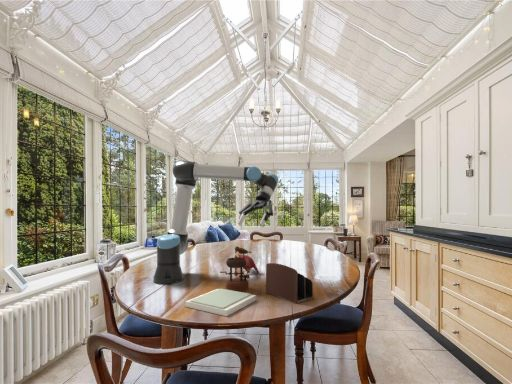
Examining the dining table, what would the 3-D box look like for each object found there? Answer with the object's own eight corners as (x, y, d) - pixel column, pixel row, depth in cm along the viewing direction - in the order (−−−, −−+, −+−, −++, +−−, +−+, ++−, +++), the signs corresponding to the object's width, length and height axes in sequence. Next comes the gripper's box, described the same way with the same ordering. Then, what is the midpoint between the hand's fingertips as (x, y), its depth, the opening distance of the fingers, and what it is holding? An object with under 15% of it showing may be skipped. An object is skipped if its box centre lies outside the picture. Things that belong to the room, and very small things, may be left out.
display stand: (185, 306, 116) (185, 300, 116) (217, 293, 133) (217, 287, 133) (226, 316, 105) (226, 309, 105) (255, 300, 122) (255, 294, 122)
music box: (249, 284, 147) (250, 244, 146) (253, 292, 136) (254, 249, 135) (218, 286, 144) (219, 245, 143) (220, 294, 133) (220, 250, 132)
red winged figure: (248, 274, 185) (232, 257, 184) (259, 264, 186) (242, 247, 185) (252, 287, 157) (233, 267, 156) (265, 275, 158) (246, 254, 157)
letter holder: (296, 304, 118) (296, 268, 118) (265, 292, 133) (264, 261, 134) (313, 299, 124) (313, 265, 124) (281, 288, 139) (281, 258, 140)
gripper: (286, 200, 160) (274, 230, 147) (248, 201, 173) (233, 228, 160) (282, 190, 156) (268, 220, 143) (242, 191, 169) (227, 219, 156)
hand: (250, 224), depth 151 cm, fingers open, 13 cm apart
